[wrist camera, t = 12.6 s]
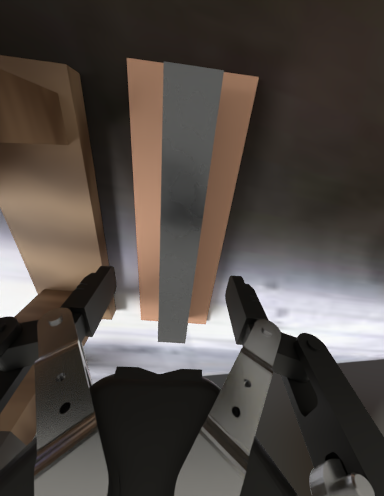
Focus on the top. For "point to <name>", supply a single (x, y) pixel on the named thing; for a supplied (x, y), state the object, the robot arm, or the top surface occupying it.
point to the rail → (184, 186)
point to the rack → (46, 205)
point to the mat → (149, 179)
